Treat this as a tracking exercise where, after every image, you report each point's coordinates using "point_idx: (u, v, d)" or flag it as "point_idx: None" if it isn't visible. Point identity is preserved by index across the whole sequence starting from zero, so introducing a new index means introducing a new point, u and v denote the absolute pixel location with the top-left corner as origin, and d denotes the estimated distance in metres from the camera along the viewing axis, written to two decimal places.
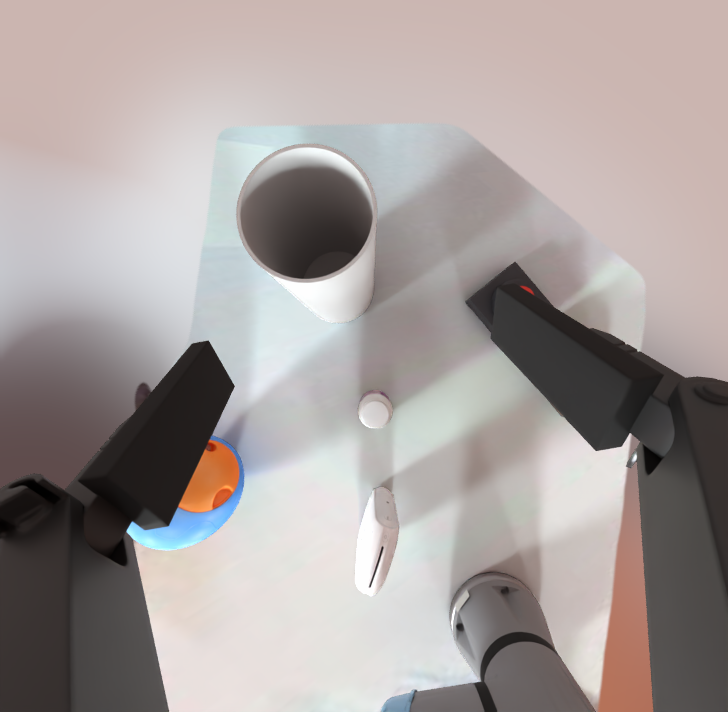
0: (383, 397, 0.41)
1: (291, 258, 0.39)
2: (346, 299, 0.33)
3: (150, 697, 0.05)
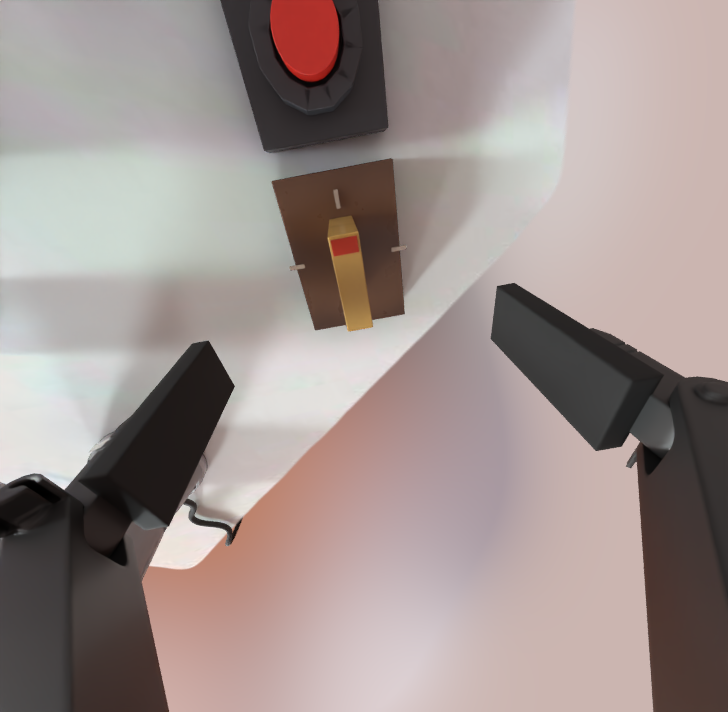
0: None
1: None
2: None
3: (150, 697, 0.05)
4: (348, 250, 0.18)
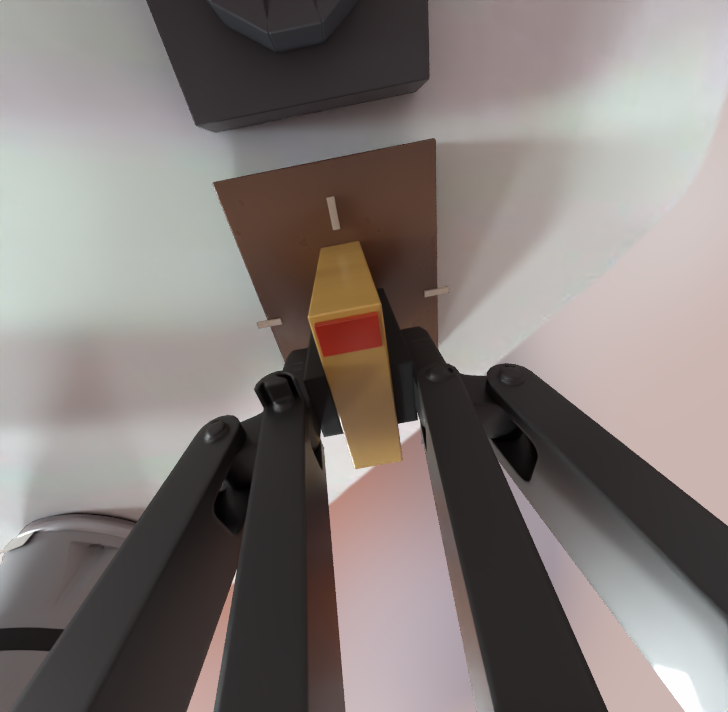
0: None
1: None
2: None
3: (330, 594, 0.06)
4: (357, 344, 0.08)
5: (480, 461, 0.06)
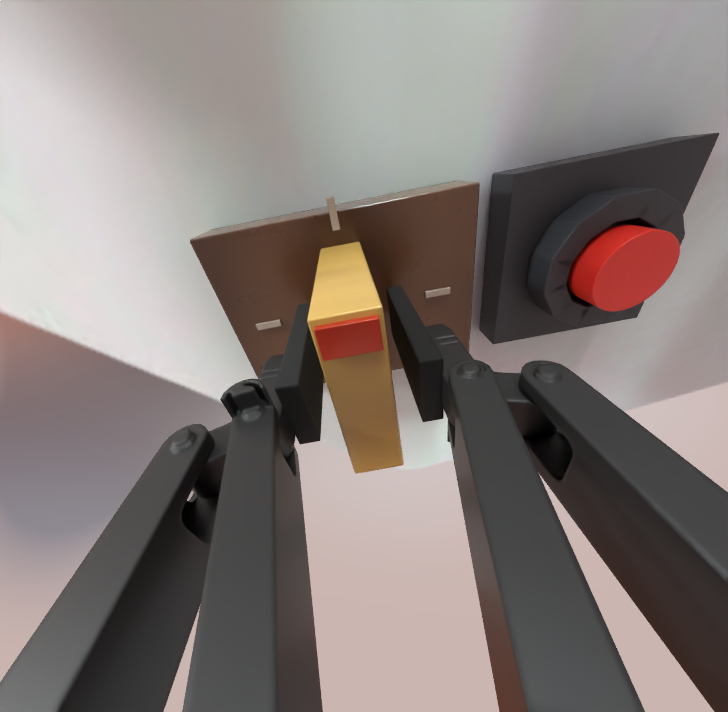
0: None
1: None
2: None
3: (305, 599, 0.06)
4: (358, 348, 0.07)
5: (514, 461, 0.05)
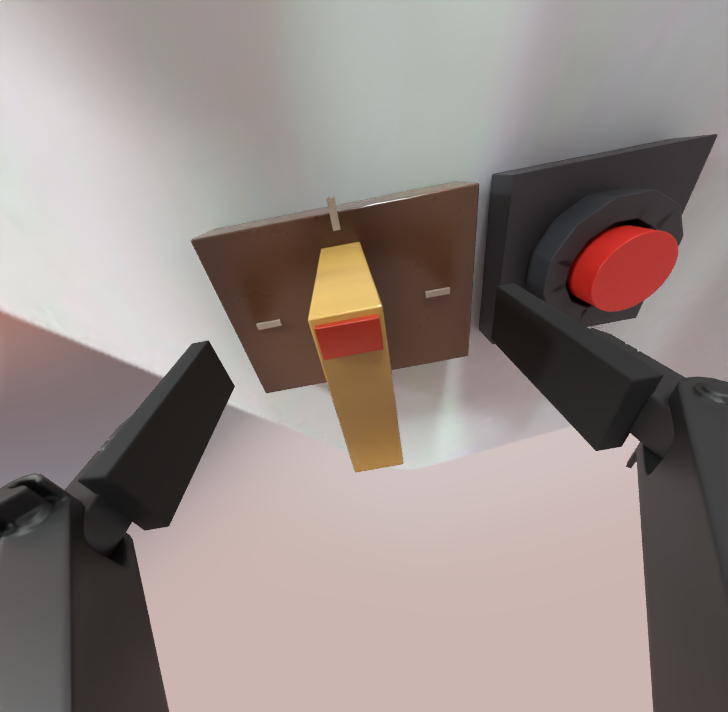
0: None
1: None
2: None
3: (150, 697, 0.05)
4: (358, 347, 0.07)
5: None
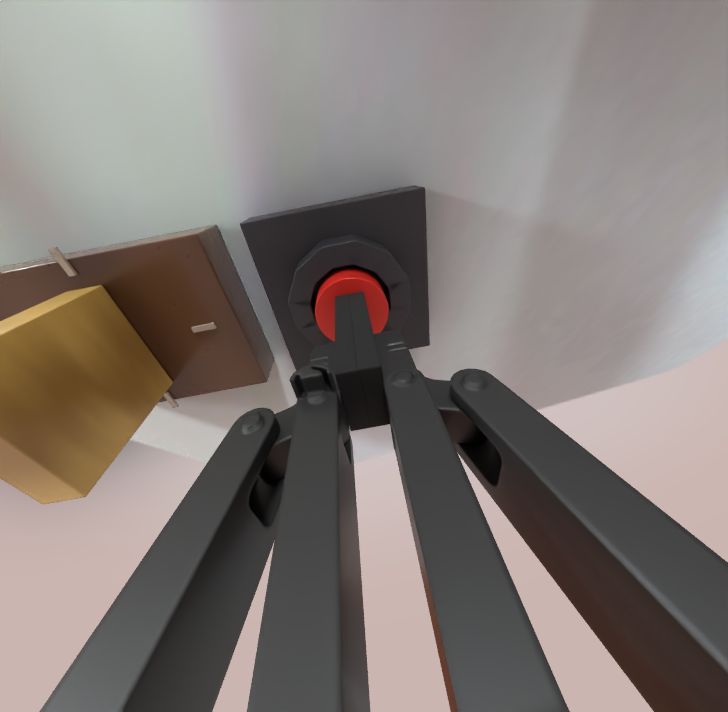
0: None
1: None
2: None
3: (358, 591, 0.06)
4: None
5: (445, 464, 0.06)
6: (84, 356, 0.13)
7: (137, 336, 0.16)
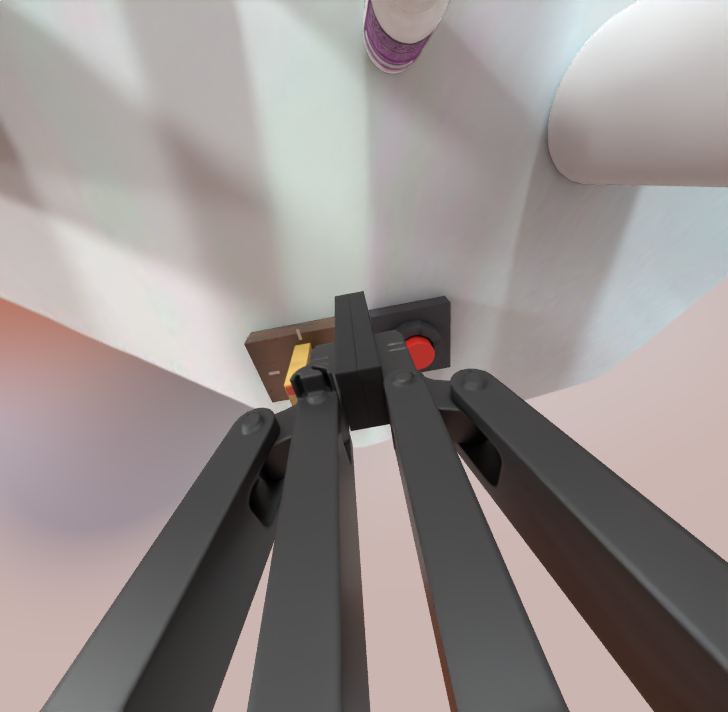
0: (429, 27, 0.18)
1: None
2: None
3: (358, 591, 0.06)
4: None
5: (445, 464, 0.06)
6: None
7: None
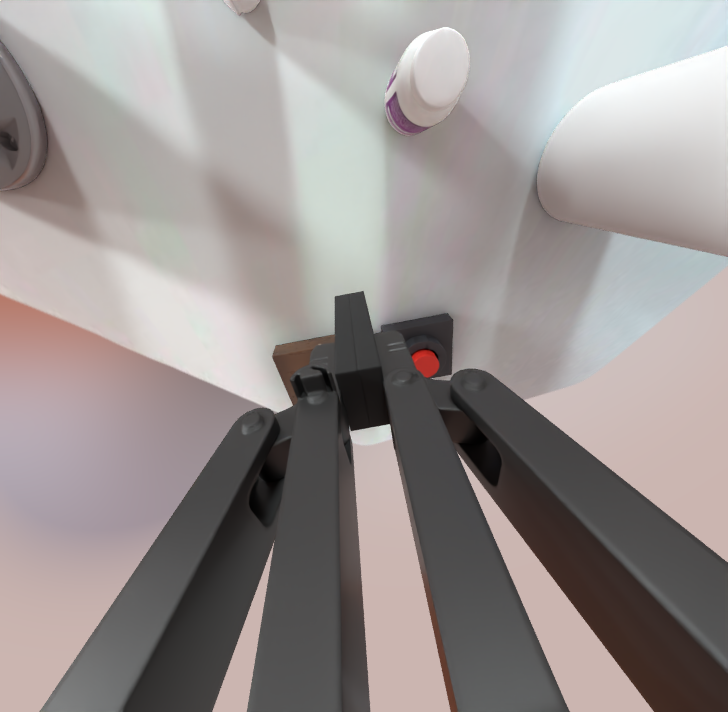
0: (443, 117, 0.22)
1: None
2: (694, 143, 0.17)
3: (358, 591, 0.06)
4: None
5: (445, 464, 0.06)
6: None
7: None
